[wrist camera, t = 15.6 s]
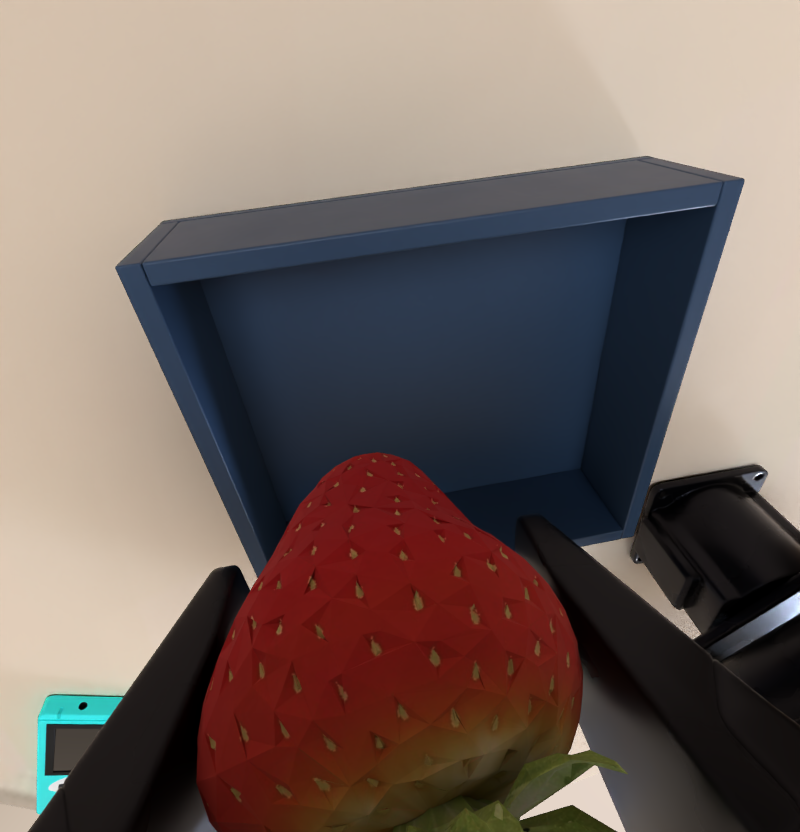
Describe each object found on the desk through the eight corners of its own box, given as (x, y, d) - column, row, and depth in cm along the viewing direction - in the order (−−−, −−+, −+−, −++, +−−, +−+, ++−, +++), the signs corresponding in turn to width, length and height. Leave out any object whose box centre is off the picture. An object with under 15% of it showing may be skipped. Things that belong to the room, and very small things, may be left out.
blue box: (647, 155, 16) (746, 178, 12) (586, 469, 24) (633, 537, 20) (161, 220, 14) (113, 266, 11) (276, 525, 23) (270, 606, 19)
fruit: (505, 515, 12) (732, 1046, 5) (305, 579, 12) (286, 1150, 6) (459, 341, 9) (858, 1079, 2) (195, 433, 9) (-118, 1295, 3)
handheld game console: (39, 796, 36) (31, 818, 35) (41, 693, 28) (30, 718, 27) (179, 791, 39) (175, 811, 38) (216, 698, 32) (213, 720, 30)
